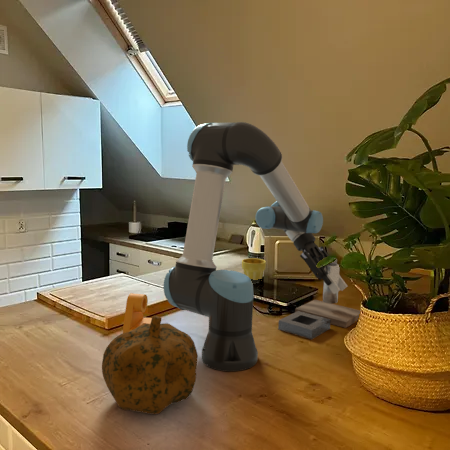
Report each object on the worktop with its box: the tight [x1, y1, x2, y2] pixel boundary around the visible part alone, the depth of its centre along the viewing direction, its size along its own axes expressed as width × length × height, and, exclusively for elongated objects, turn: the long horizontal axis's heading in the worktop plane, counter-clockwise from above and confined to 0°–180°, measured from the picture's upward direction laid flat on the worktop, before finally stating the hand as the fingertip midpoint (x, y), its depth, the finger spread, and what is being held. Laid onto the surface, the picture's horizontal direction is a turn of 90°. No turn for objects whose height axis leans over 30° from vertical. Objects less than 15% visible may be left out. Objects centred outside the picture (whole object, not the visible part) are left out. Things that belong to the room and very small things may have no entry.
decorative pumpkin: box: [101, 315, 198, 415], centre depth 99 cm, size 20×21×20 cm
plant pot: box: [241, 257, 267, 280], centre depth 196 cm, size 10×10×10 cm
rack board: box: [294, 299, 361, 329], centre depth 157 cm, size 14×19×2 cm
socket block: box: [277, 311, 331, 340], centre depth 144 cm, size 12×12×3 cm
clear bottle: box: [322, 258, 341, 305], centre depth 156 cm, size 5×5×15 cm
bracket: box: [122, 292, 152, 334], centre depth 138 cm, size 11×7×12 cm, turn 168°
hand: (340, 290), depth 154 cm, fingers closed on clear bottle, 5 cm apart
